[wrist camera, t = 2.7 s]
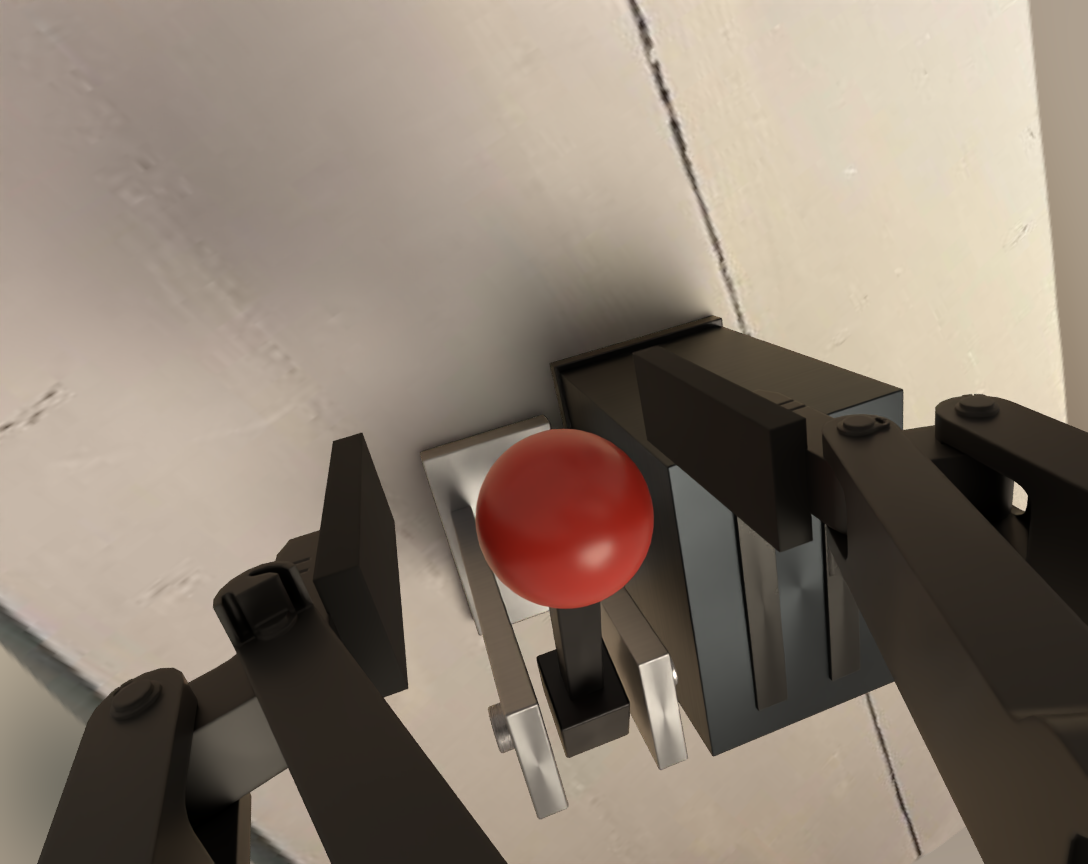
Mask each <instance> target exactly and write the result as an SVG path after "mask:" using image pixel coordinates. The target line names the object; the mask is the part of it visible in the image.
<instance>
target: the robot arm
mask: <svg viewBox="0 0 1088 864" xmlns="http://www.w3.org/2000/svg"><path fill="white" fill-rule="evenodd" d="M632 354H633V360H634V366H635V372H636V378H637V384H638V390H639V395H640V401H641V407H642V413H643V419H644V425H645V431H646V437H647V441H649V442H650V443H651V444H652V445H653V446H655V447H656V448H657V449H658V450H659V451H660V452H662V453H663V454H664V455H665V456H666V457H668V458H669V459H670V460H671V461H672V462H673V463H675V464H676V465H677V466H678V467H679V468H680V469H682V470H683V471H684V472H685V473H686V474H688V475H689V476H690V477H691V478H692V479H693V480H695V481H696V482H697V483H698V484H699V485H701V486H702V487H703V488H704V489H705V490H706V491H708V492H709V493H710V494H711V495H712V496H714V497H715V498H716V499H717V500H718V501H719V502H721V503H722V504H723V505H724V506H725V507H726V508H728V509H729V510H730V511H731V512H732V513H734V514H735V515H736V516H737V517H738V518H739V519H741V520H742V521H743V522H744V523H745V524H747V525H748V526H749V527H750V528H751V529H752V530H754V531H755V532H756V533H757V534H758V535H760V536H761V537H762V538H763V539H764V540H765V541H767V542H768V543H769V544H770V545H771V546H773V547H774V548H775V549H776V550H777V551H778V552H783V551H786V550H789V549H791V548H794V547H797V546H800V545H802V544H805V543H808V542H811V541H813V531H812V515H813V516H815V517H816V518H818V519H819V520H820V521H822V522H823V523H825V524H826V531H827V552H828V571H829V577H831V576H835V568H836V567H837V566H838V567H839V569H840V571H841V573H842V575H843V577H844V579H845V581H846V583H847V585H848V587H849V589H850V591H851V594H852V596H853V598H854V600H855V602H856V604H857V606H858V608H859V610H860V612H861V614H862V616H863V618H864V620H865V622H866V624H867V626H868V628H869V630H870V632H871V634H872V636H873V638H874V640H875V642H876V644H877V646H878V648H879V650H880V652H881V654H882V657H883V659H884V661H885V663H886V665H887V667H888V669H889V671H890V673H891V675H892V677H893V679H894V681H895V683H896V685H897V687H898V689H899V691H900V693H901V695H902V697H903V699H904V701H905V703H906V705H907V707H908V709H909V711H910V713H911V715H912V717H913V719H914V722H915V724H916V726H917V728H918V730H919V732H920V734H921V736H922V738H923V740H924V742H925V744H926V746H927V748H928V750H929V752H930V754H931V756H932V758H933V760H934V762H935V764H936V766H937V768H938V770H939V772H940V774H941V776H942V778H943V780H944V782H945V785H946V787H947V789H948V791H949V793H950V795H951V797H952V799H953V801H954V803H955V805H956V807H957V809H958V811H959V813H960V815H961V817H962V819H963V821H964V823H965V825H966V827H967V829H968V831H969V833H970V835H971V837H972V839H973V841H974V843H975V845H976V847H977V849H978V851H979V854H980V856H981V858H982V859H983V862H984V864H1088V433H1087V432H1085V431H1082V430H1080V429H1078V428H1075V427H1073V426H1070V425H1068V424H1065V423H1063V422H1060V421H1058V420H1056V419H1053V418H1051V417H1048V416H1046V415H1043V414H1041V413H1038V412H1036V411H1033V410H1031V409H1029V408H1026V407H1024V406H1021V405H1019V404H1016V403H1014V402H1011V401H1008V400H1005V399H1001V398H998V397H990V396H985V395H983V394H974V396H973V395H972V394H969V395H963V396H961V397H955V398H950V399H948V400H945V401H942V402H940V403H939V404H938V405H937V406H936V408H935V425H933V426H927V427H920V428H914V429H907V430H901V428H900V427H899V426H898V425H897V424H896V423H894V422H893V421H891V420H890V419H888V418H884V417H881V416H877V415H868V414H854V415H845V416H841V417H837V418H833V417H831V416H828V415H826V414H824V413H822V412H820V411H818V410H815V409H813V408H811V407H809V406H805V404H802V403H800V402H798V401H794V400H793V399H792V398H789V397H787V396H785V395H783V394H781V393H778V392H772V391H766V390H760V389H758V390H755V391H750V390H748V389H746V388H743V387H741V386H739V385H737V384H735V383H733V382H731V381H729V380H727V379H725V378H723V377H721V376H719V375H717V374H715V373H713V372H711V371H709V370H707V369H705V368H703V367H701V366H699V365H697V364H694V363H692V362H690V361H688V360H686V359H684V358H682V357H680V356H678V355H676V354H674V353H672V352H670V351H668V350H666V349H664V348H662V347H660V346H658V345H656V346H653V347H650V348H646V349H643V350H640V351H636V352H633V353H632ZM1014 481H1015V482H1016V483H1018V484H1019V485H1020V486H1021V487H1022V488H1023V489H1024V490H1025V492H1026V493H1027V495H1028V501H1027V508H1026V511H1022V510H1020V509H1019V508H1017V507H1015V506H1014V505H1012V500H1013V488H1014ZM213 608H214V610H215V612H216V614H217V616H218V618H219V620H220V622H221V624H222V625H223V627H224V629H225V631H226V633H227V635H228V637H229V639H230V641H231V642H232V644H233V646H234V648H235V650H236V653H237V654H236V655H235V656H233V657H232V658H231V659H229V660H228V661H226V662H225V663H223V664H221V665H220V666H218V667H217V668H215V669H213V670H211V671H209V672H207V673H206V674H204V675H202V676H200V677H198V678H196V679H194V680H193V681H191V682H189V683H188V682H187V680H186V679H185V677H184V675H183V673H182V672H181V671H179V670H177V669H175V668H160V669H157V670H153V671H150V672H147V673H144V674H142V675H140V676H138V677H136V678H134V679H131V680H128V681H127V682H125V683H124V684H122V685H121V687H118V688H116V689H115V690H114V691H113V692H111V693H110V694H109V695H108V696H107V698H106V699H105V700H104V701H103V702H102V703H101V704H100V705H99V706H98V707H97V708H96V709H95V710H94V712H93V714H92V715H91V717H90V719H89V720H88V722H87V725H86V728H85V731H84V734H83V737H82V739H81V742H80V745H79V748H78V751H77V753H76V756H75V759H74V762H73V765H72V767H71V770H70V773H69V776H68V779H67V782H66V785H65V787H64V790H63V793H62V796H61V799H60V801H59V804H58V807H57V810H56V813H55V815H54V818H53V821H52V824H51V827H50V829H49V832H48V835H47V838H46V841H45V843H44V846H43V849H42V852H41V855H40V858H39V860H38V863H37V864H250V839H251V794H250V792H251V791H253V790H254V789H256V788H257V787H259V786H261V785H262V784H264V783H265V782H267V781H268V780H270V779H271V778H273V777H275V776H276V775H278V774H279V773H281V772H282V771H284V770H285V769H287V768H289V771H290V773H291V775H292V777H293V779H294V782H295V784H296V786H297V788H298V791H299V793H300V795H301V797H302V800H303V802H304V804H305V806H306V808H307V811H308V813H309V815H310V817H311V820H312V822H313V824H314V826H315V828H316V831H317V833H318V835H319V837H320V840H321V842H322V844H323V846H324V848H325V851H326V853H327V855H328V857H329V860H330V862H331V864H507V862H506V861H505V860H504V858H503V857H502V856H501V854H500V853H499V852H498V850H497V849H496V848H495V846H494V845H493V844H492V842H491V841H490V839H489V838H488V837H487V835H486V834H485V833H484V831H483V830H482V829H481V827H480V826H479V825H478V823H477V822H476V821H475V819H474V818H473V817H472V815H471V814H470V813H469V811H468V810H467V809H466V807H465V806H464V805H463V803H462V802H461V801H460V799H459V798H458V797H457V795H456V794H455V793H454V791H453V790H452V789H451V787H450V786H449V785H448V783H447V782H446V781H445V779H444V778H443V777H442V775H441V774H440V773H439V771H438V770H437V769H436V767H435V766H434V765H433V763H432V762H431V761H430V759H429V758H428V757H427V755H426V754H425V753H424V751H423V750H422V749H421V747H420V746H419V745H418V743H417V742H416V741H415V739H414V738H413V737H412V735H411V734H410V733H409V731H408V730H407V729H406V727H405V726H404V725H403V723H402V722H401V721H400V719H399V718H398V717H397V715H396V714H395V713H394V711H393V710H392V709H391V707H390V706H389V705H388V703H387V702H386V701H385V699H384V697H386V696H389V695H392V694H395V693H397V692H400V691H403V690H406V689H408V679H407V667H406V655H405V643H404V630H403V618H402V606H401V594H400V582H399V570H398V558H397V546H396V534H395V522H394V519H393V516H392V513H391V510H390V508H389V505H388V502H387V499H386V497H385V494H384V491H383V488H382V486H381V483H380V480H379V477H378V475H377V472H376V469H375V466H374V464H373V461H372V458H371V455H370V453H369V450H368V447H367V444H366V441H365V439H364V436H363V433H359V434H356V435H352V436H349V437H346V438H342V439H339V440H335V441H333V445H332V452H331V459H330V466H329V472H328V479H327V486H326V493H325V500H324V506H323V513H322V520H321V527H320V530H319V531H316V532H312V533H309V534H306V535H303V536H300V537H297V538H294V539H290V540H289V541H288V543H287V544H286V545H285V546H284V547H283V549H282V550H281V551H280V552H279V553H278V554H277V557H276V561H274V562H270V563H265V564H261V565H259V566H257V567H254V568H252V569H249V570H247V571H245V572H243V573H242V574H240V575H238V576H237V577H235V578H233V579H232V580H231V581H229V582H228V583H227V584H226V585H225V586H224V587H223V588H221V589H220V591H219V592H218V594H217V595H216V597H215V598H214V600H213Z"/></svg>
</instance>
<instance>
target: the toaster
mask: <svg viewBox="0 0 1088 864" xmlns="http://www.w3.org/2000/svg"><path fill="white" fill-rule="evenodd" d="M656 345H658V346H660V347H662V348H664V349H666V350H668V351H670V352H672V353H674V354H676V355H678V356H680V357H682V358H684V359H686V360H688V361H690V362H692V363H694V364H697V365H699V366H701V367H703V368H705V369H707V370H709V371H711V372H713V373H715V374H717V375H719V376H721V377H723V378H725V379H727V380H729V381H731V382H733V383H735V384H737V385H739V386H741V387H743V388H746V389H748V390H750V391H755V390H758V389H760V390H766V391H772V392H778V393H781V394H783V395H785V396H787V397H789V398H792V399H793V400H794V401H798V402H800V403H802V404H805V406H809V407H811V408H813V409H815V410H818V411H820V412H822V413H824V414H826V415H828V416H831V417H833V418H837V417H841V416H845V415H854V414H868V415H877V416H881V417H884V418H888V419H890V420H891V421H893V422H894V423H896V424H897V425H898V426H899V427H900V428H901V430H903V389H901V388H898V387H895V386H892V385H889V384H886V383H883V382H880V381H878V380H875V379H872V378H869V377H866V376H863V375H860V374H857V373H854V372H852V371H849V370H846V369H843V368H840V367H837V366H834V365H831V364H829V363H826V362H823V361H820V360H817V359H814V358H811V357H808V356H805V355H803V354H800V353H797V352H794V351H791V350H788V349H785V348H782V347H780V346H777V345H774V344H771V343H768V342H765V341H762V340H759V339H756V338H754V337H751V336H748V335H745V334H742V333H739V332H736V331H733V330H731V329H728V328H725V327H723V325H722V318H720V317H717V316H710V317H707V318H703V319H700V320H696V321H693V322H690V323H686V324H683V325H679V326H676V327H673V328H669V329H666V330H662V331H659V332H655V333H652V334H649V335H645V336H642V337H638V338H635V339H631V340H628V341H625V342H621V343H618V344H614V345H611V346H608V347H604V348H601V349H597V350H594V351H590V352H587V353H584V354H580V355H577V356H573V357H570V358H566V359H563V360H560V361H556V362H553V363H550V368H551V372H552V376H553V381H554V385H555V390H556V394H557V399H558V403H559V408H560V412H561V417H562V421H563V426H564V429H576V430H582V431H586V432H589V433H593V434H596V435H598V436H600V437H602V438H604V439H606V440H608V441H610V442H612V443H613V444H614V445H616V446H617V447H618V448H620V449H621V450H622V451H624V452H625V453H626V454H627V455H628V456H629V457H630V459H631V460H632V461H633V462H634V463H635V464H636V466H637V467H638V469H639V470H640V472H641V474H642V475H643V477H644V479H645V481H646V483H647V486H648V489H649V492H650V495H651V499H652V504H653V511H654V528H653V533H652V539H651V544H650V546H649V549H648V552H647V555H646V557H645V559H644V561H643V563H642V565H641V566H640V568H639V570H638V571H637V572H636V574H635V575H634V576H633V577H632V578H631V580H630V581H629V582H628V583H627V584H626V585H625V588H626V589H627V591H628V592H629V594H630V595H631V597H632V598H633V600H634V601H635V603H636V604H637V606H638V607H639V609H640V610H641V612H642V613H643V615H644V616H645V618H646V619H647V621H648V622H649V624H650V625H651V627H652V628H653V630H654V631H655V633H656V634H657V636H658V637H659V639H660V640H661V642H662V643H663V645H664V646H665V647H666V649H667V650H668V652H669V654H670V656H671V658H672V660H673V663H674V666H675V668H676V672H677V676H678V684H677V685H676V686H675V688H676V694H677V699H678V702H679V703H680V705H681V706H682V708H683V710H684V711H685V713H686V714H687V716H688V718H689V719H690V721H691V722H692V724H693V726H694V727H695V729H696V730H697V732H698V734H699V735H700V737H701V738H702V740H703V742H704V743H705V745H706V747H707V748H708V750H709V751H710V753H711V755H712V756H716V755H719V754H721V753H723V752H726V751H728V750H731V749H733V748H735V747H738V746H740V745H743V744H745V743H747V742H750V741H752V740H755V739H757V738H759V737H762V736H764V735H767V734H769V733H772V732H774V731H776V730H779V729H781V728H784V727H786V726H788V725H791V724H793V723H796V722H798V721H800V720H803V719H805V718H808V717H810V716H812V715H815V714H817V713H820V712H822V711H824V710H827V709H829V708H832V707H834V706H836V705H839V704H841V703H844V702H846V701H848V700H851V699H853V698H856V697H858V696H861V695H863V694H865V693H868V692H870V691H873V690H875V689H877V688H880V687H882V686H885V685H887V684H889V683H892V682H894V679H893V677H892V675H891V673H890V671H889V669H888V667H887V665H886V663H885V661H884V659H883V657H882V654H881V652H880V650H879V648H878V646H877V644H876V642H875V640H874V638H873V636H872V634H871V632H870V630H869V628H868V626H867V624H866V622H865V620H864V618H863V616H862V614H861V612H860V610H859V608H858V606H857V604H856V602H855V600H854V598H853V596H852V594H851V591H850V589H849V587H848V585H847V583H846V581H845V579H844V577H843V575H842V573H841V571H840V569H839V567H838V566H837V567H836V568H835V576H831V577H829V571H828V552H827V531H826V524H825V523H823V522H822V521H820V520H819V519H818V518H816V517H815V516H813V515H812V531H813V541H811V542H808V543H805V544H802V545H800V546H797V547H794V548H791V549H789V550H786V551H783V552H778V551H777V550H776V549H775V548H774V547H773V546H771V545H770V544H769V543H768V542H767V541H765V540H764V539H763V538H762V537H761V536H760V535H758V534H757V533H756V532H755V531H754V530H752V529H751V528H750V527H749V526H748V525H747V524H745V523H744V522H743V521H742V520H741V519H739V518H738V517H737V516H736V515H735V514H734V513H732V512H731V511H730V510H729V509H728V508H726V507H725V506H724V505H723V504H722V503H721V502H719V501H718V500H717V499H716V498H715V497H714V496H712V495H711V494H710V493H709V492H708V491H706V490H705V489H704V488H703V487H702V486H701V485H699V484H698V483H697V482H696V481H695V480H693V479H692V478H691V477H690V476H689V475H688V474H686V473H685V472H684V471H683V470H682V469H680V468H679V467H678V466H677V465H676V464H675V463H673V462H672V461H671V460H670V459H669V458H668V457H666V456H665V455H664V454H663V453H662V452H660V451H659V450H658V449H657V448H656V447H655V446H653V445H652V444H651V443H650V442H649V441H647V437H646V431H645V425H644V419H643V413H642V407H641V401H640V395H639V390H638V384H637V378H636V372H635V366H634V360H633V354H632V353H633V352H636V351H640V350H643V349H646V348H650V347H653V346H656Z"/></svg>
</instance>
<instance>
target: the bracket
mask: <svg viewBox="0 0 1088 864" xmlns="http://www.w3.org/2000/svg"><path fill="white" fill-rule="evenodd" d="M546 430H552V429H551V425H550V422H549V421H548V420H547V418H546V417H545V416H544V415H540V416H536V417H533V418H530V419H527V420H523V421H520V422H517V423H514V424H510V425H507V426H504V427H500V428H497V429H494V430H491V431H487V432H484V433H481V434H478V435H474V436H471V437H468V438H464V439H461V440H458V441H455V442H451V443H448V444H445V445H442V446H438V447H435V448H432V449H428V450H425V451H422V452H420V455H421V460H422V464H423V467H424V470H425V473H426V476H427V479H428V482H429V485H430V488H431V491H432V494H433V498H434V501H435V504H436V507H437V510H438V513H439V516H440V519H441V522H442V525H443V528H444V531H445V534H446V537H447V540H448V543H449V546H450V549H451V552H452V555H453V558H454V561H455V564H456V567H457V571H458V574H459V577H460V580H461V583H462V586H463V589H464V592H465V595H466V598H467V601H468V604H469V607H470V610H471V613H472V616H473V619H474V622H475V625H476V628H477V631H478V634H479V635H483V638H484V642H485V646H486V650H487V653H488V657H489V661H490V665H491V669H492V672H493V676H494V680H495V684H496V687H497V691H498V695H499V699H500V703H497V704H495V705H492V706H489V707H488V712H489V717H490V721H491V724H492V728H493V731H494V735H495V738H496V741H497V744H498V747H499V750H500V752H501V753H505V752H507V751H510V750H512V749H515V751H516V754H517V757H518V760H519V763H520V766H521V769H522V772H523V775H524V778H525V781H526V784H527V787H528V790H529V793H530V796H531V799H532V802H533V805H534V808H535V811H536V814H537V817H538V818H539V819H543V818H545V817H548V816H550V815H552V814H555V813H557V812H560V811H562V810H565V809H567V808H568V801H567V798H566V795H565V791H564V788H563V785H562V781H561V778H560V774H559V771H558V768H557V764H556V761H555V758H554V754H553V751H552V748H551V744H550V741H549V738H548V734H547V731H546V727H545V724H544V721H543V717H542V714H541V711H540V707H539V704H538V701H537V698H536V695H535V692H534V689H533V686H532V683H531V680H530V677H529V674H528V672H527V669H526V666H525V663H524V660H523V657H522V654H521V651H520V648H519V645H518V642H517V639H516V636H515V633H514V630H513V627H512V625H511V624H514V623H517V622H520V621H523V620H525V619H528V618H531V617H534V616H536V615H539V614H542V613H545V612H548V611H550V610H549V607H546V606H541V605H538V604H535V603H533V602H530V601H528V600H526V599H524V598H522V597H520V596H519V595H517V594H515V593H514V592H512V591H511V590H510V589H509V588H508V587H507V586H505V585H504V584H503V583H502V582H501V581H500V580H499V579H498V577H497V576H496V575H495V574H494V573H493V571H492V570H491V568H490V567H489V565H488V563H487V562H486V560H485V558H484V555H483V553H482V550H481V548H480V545H479V541H478V537H477V532H476V521H475V518H476V504H477V500H478V495H479V492H480V488H481V486H482V483H483V481H484V479H485V477H486V475H487V473H488V472H489V470H490V468H491V467H492V466H493V464H494V463H495V462H496V461H497V459H498V458H499V457H500V456H501V455H502V454H503V453H504V452H505V451H506V450H507V449H509V448H510V447H511V446H513V445H514V444H515V443H517V442H519V441H520V440H522V439H524V438H526V437H528V436H531V435H533V434H536V433H539V432H543V431H546ZM600 604H601V628H602V638H603V640H604V642H605V645H606V647H607V649H608V652H609V654H610V657H611V659H612V661H613V664H614V666H615V668H616V671H617V673H618V675H619V678H620V680H621V682H622V685H623V687H624V689H625V692H626V694H627V696H628V699H629V701H630V714H631V716H632V718H633V720H634V722H635V723H636V725H637V727H638V729H639V731H640V733H641V735H642V737H643V739H644V741H645V743H646V745H647V747H648V749H649V751H650V753H651V755H652V757H653V758H654V760H655V762H656V764H657V766H658V768H659V769H660V770H662V769H665V768H667V767H670V766H672V765H675V764H677V763H679V762H682V761H684V760H687V759H688V755H687V750H686V744H685V738H684V733H683V727H682V722H681V716H680V710H679V705H678V699H677V694H676V688H675V686H676V685H677V684H678V676H677V672H676V668H675V666H674V663H673V660H672V658H671V656H670V654H669V652H668V650H667V649H666V647H665V646H664V645H663V643H662V642H661V640H660V639H659V637H658V636H657V634H656V633H655V631H654V630H653V628H652V627H651V625H650V624H649V622H648V621H647V619H646V618H645V616H644V615H643V613H642V612H641V610H640V609H639V607H638V606H637V604H636V603H635V601H634V600H633V598H632V597H631V595H630V594H629V592H628V591H627V589H626V588H625V586H624V587H623V588H621V589H620V590H619V591H617V592H616V593H615V594H613V595H611V596H610V597H608V598H606V599H604V600H602V601H600Z"/></svg>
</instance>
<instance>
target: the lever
mask: <svg viewBox="0 0 1088 864" xmlns="http://www.w3.org/2000/svg"><path fill="white" fill-rule="evenodd" d="M475 521H476V532H477V537H478V541H479V545H480V548H481V550H482V553H483V555H484V558H485V560H486V562H487V563H488V565H489V567H490V568H491V570H492V571H493V573H494V574H495V575H496V576H497V577H498V579H499V580H500V581H501V582H502V583H503V584H504V585H505V586H507V587H508V588H509V589H510V590H511V591H512V592H514V593H515V594H517V595H519V596H520V597H522V598H524V599H526V600H528V601H530V602H533V603H535V604H538V605H541V606H546V607H549V610H550V616H551V622H552V628H553V634H554V640H555V645H556V649H555V650H553V651H550V652H547V653H545V654H542V655H539V656H538V657H537V664H538V668H539V672H540V677H541V681H542V685H543V689H544V693H545V696H546V699H547V702H548V705H549V708H550V710H551V713H552V716H553V719H554V722H555V725H556V728H557V731H558V734H559V737H560V740H561V743H562V746H563V749H564V752H565V755H566V757H567V758H570V757H573V756H575V755H578V754H580V753H583V752H585V751H588V750H590V749H593V748H595V747H598V746H600V745H603V744H605V743H608V742H610V741H613V740H615V739H618V738H620V737H623V736H625V735H627V734H628V733H629V719H630V701H629V699H628V696H627V694H626V692H625V689H624V687H623V685H622V682H621V680H620V678H619V675H618V673H617V671H616V668H615V666H614V664H613V661H612V659H611V657H610V654H609V652H608V649H607V647H606V645H605V642H604V640H603V638H602V628H601V604H600V601H602V600H604V599H606V598H608V597H610V596H611V595H613V594H615V593H616V592H617V591H619V590H620V589H621V588H623V587H624V586H625V585H626V584H627V583H628V582H629V581H630V580H631V578H632V577H633V576H634V575H635V574H636V572H637V571H638V570H639V568H640V566H641V565H642V563H643V561H644V559H645V557H646V555H647V552H648V549H649V546H650V544H651V539H652V533H653V528H654V511H653V504H652V499H651V495H650V492H649V489H648V486H647V483H646V481H645V479H644V477H643V475H642V474H641V472H640V470H639V469H638V467H637V466H636V464H635V463H634V462H633V461H632V460H631V459H630V457H629V456H628V455H627V454H626V453H625V452H624V451H622V450H621V449H620V448H618V447H617V446H616V445H614V444H613V443H612V442H610V441H608V440H606V439H604V438H602V437H600V436H598V435H596V434H593V433H589V432H586V431H582V430H576V429H553V430H546V431H543V432H539V433H536V434H533V435H531V436H528V437H526V438H524V439H522V440H520V441H519V442H517V443H515V444H514V445H513V446H511V447H510V448H509V449H507V450H506V451H505V452H504V453H503V454H502V455H501V456H500V457H499V458H498V459H497V461H496V462H495V463H494V464H493V466H492V467H491V468H490V470H489V472H488V473H487V475H486V477H485V479H484V481H483V483H482V486H481V488H480V492H479V495H478V500H477V504H476V518H475Z"/></svg>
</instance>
